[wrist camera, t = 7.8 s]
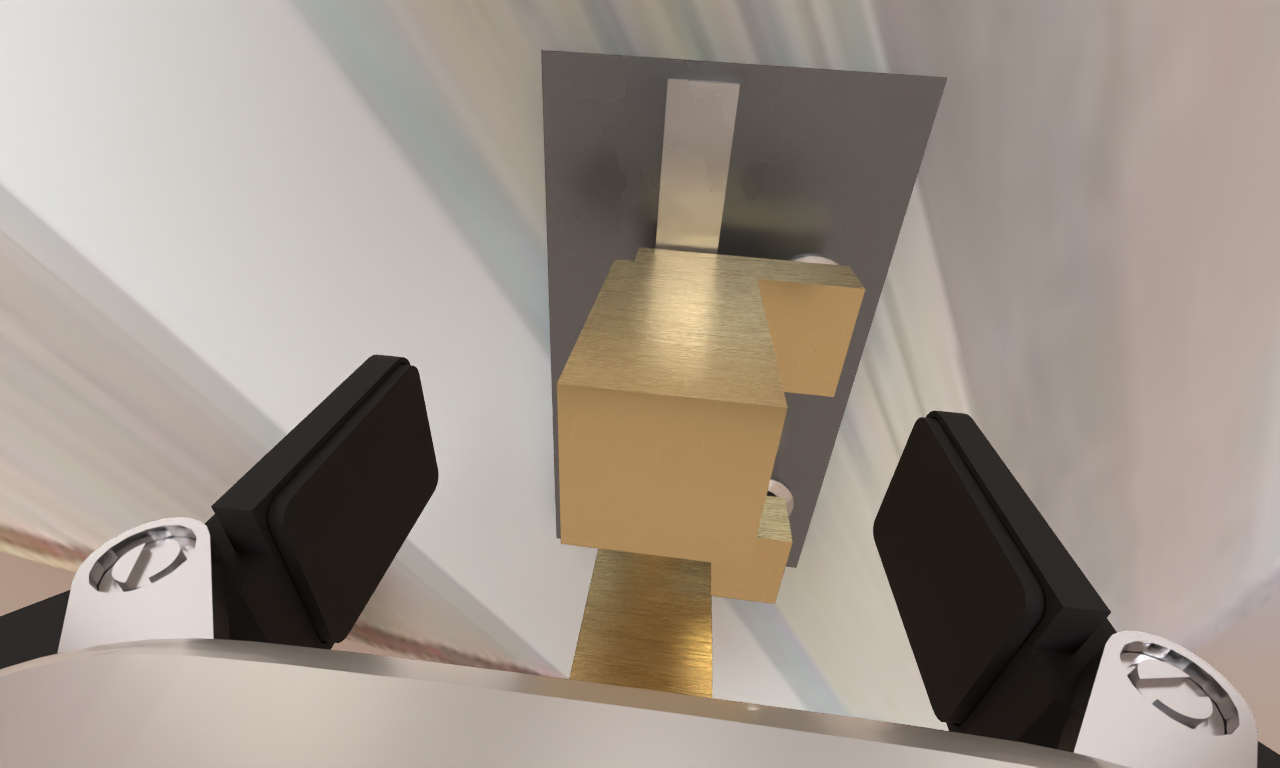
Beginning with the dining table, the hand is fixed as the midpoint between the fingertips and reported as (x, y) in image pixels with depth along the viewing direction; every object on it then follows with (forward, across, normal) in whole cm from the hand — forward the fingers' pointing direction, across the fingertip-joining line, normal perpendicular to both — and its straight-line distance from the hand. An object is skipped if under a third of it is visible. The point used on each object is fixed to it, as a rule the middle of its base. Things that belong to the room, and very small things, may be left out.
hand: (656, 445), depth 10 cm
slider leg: (+10, -2, +1) cm, 10 cm away
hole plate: (+12, -1, +4) cm, 12 cm away
